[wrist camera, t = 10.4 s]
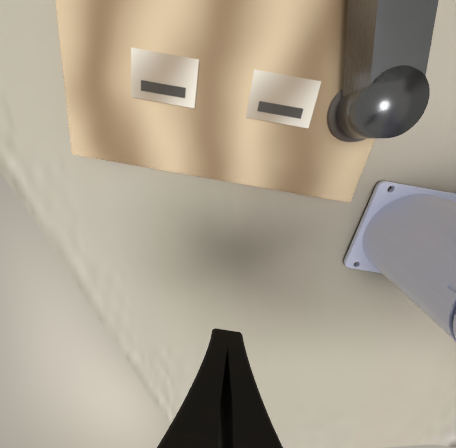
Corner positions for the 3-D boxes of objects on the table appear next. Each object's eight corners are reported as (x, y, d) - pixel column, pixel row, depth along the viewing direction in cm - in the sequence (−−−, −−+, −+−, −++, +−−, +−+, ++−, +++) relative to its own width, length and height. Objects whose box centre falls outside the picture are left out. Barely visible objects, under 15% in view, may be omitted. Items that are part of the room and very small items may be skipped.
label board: (468, -133, 11) (509, -182, 9) (343, 198, 18) (353, 204, 16) (50, -211, 11) (15, -275, 9) (82, 153, 17) (66, 154, 16)
